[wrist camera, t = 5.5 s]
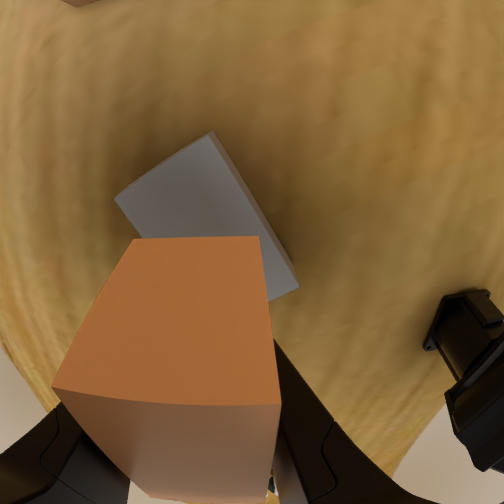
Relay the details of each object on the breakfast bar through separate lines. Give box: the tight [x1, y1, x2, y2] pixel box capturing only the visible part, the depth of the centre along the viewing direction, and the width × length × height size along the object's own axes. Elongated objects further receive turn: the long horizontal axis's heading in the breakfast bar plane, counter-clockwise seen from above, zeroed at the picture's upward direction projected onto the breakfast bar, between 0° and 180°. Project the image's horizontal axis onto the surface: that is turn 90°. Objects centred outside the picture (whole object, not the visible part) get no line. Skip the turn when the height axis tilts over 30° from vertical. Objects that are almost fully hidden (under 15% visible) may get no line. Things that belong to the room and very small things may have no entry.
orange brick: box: [51, 236, 282, 504], centre depth 7 cm, size 6×3×5 cm, turn 0°
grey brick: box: [114, 130, 300, 302], centre depth 18 cm, size 10×6×3 cm, turn 29°
